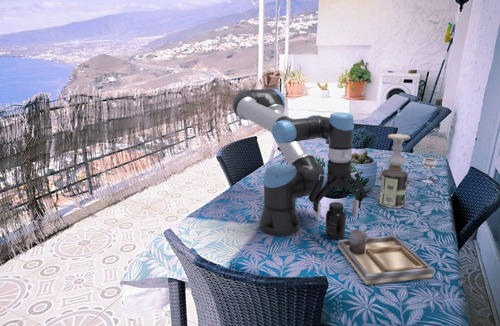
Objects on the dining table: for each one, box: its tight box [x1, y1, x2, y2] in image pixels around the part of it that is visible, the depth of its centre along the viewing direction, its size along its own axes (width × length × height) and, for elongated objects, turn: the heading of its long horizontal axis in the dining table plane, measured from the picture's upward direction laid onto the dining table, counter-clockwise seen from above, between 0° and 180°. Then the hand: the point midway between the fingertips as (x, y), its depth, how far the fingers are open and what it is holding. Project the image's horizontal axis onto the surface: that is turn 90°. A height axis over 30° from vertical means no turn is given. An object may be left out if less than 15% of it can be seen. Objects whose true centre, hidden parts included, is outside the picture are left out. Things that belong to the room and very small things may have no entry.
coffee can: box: [379, 168, 409, 209], centre depth 144 cm, size 10×10×14 cm
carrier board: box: [337, 229, 435, 285], centre depth 103 cm, size 20×20×7 cm
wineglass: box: [421, 156, 439, 184], centre depth 170 cm, size 7×7×12 cm
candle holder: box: [379, 133, 411, 185], centre depth 170 cm, size 11×11×24 cm
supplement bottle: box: [325, 201, 347, 241], centre depth 118 cm, size 7×7×12 cm
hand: (336, 218), depth 117 cm, fingers open, 13 cm apart
